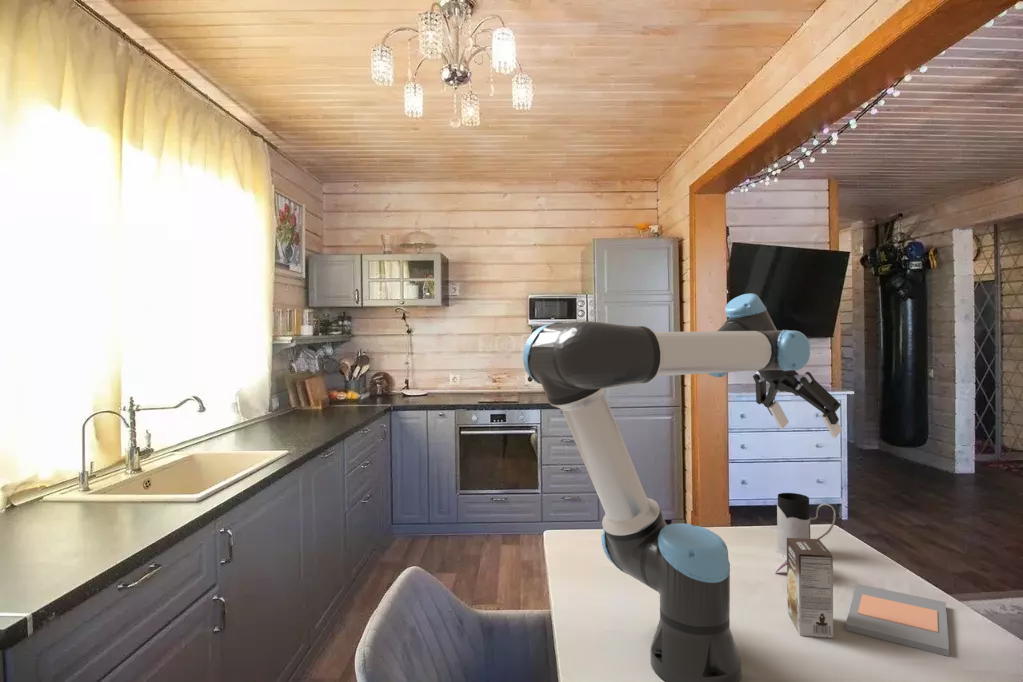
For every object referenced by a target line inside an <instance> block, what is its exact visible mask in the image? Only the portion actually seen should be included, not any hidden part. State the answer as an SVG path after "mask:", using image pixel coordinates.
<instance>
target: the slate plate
mask: <svg viewBox="0 0 1023 682" xmlns="http://www.w3.org/2000/svg"><path fill="white" fill-rule="evenodd" d="M850 603H851V604H850V607H849V611H848V614H847V619H846V622H845V631H848V632H851V633H856V634H860V635H863V636H866V637H871V638H876V639H879V640H882V641H883V640H884V641H888V642H892V643H895V644H899V645H903V646H907V647H910V648H914V649H918V650H922V651H926V652H931V653H935V654H938V655H943V656H947V657H950V644H949V633H948V632H949V630H948V614H947V602H946V601H942V600H936V599H932V598H928V597H922V596H918V595H913V594H908V593H904V592H899V591H893V590H890V589H884V588H880V587H874V586H871V585H867V584H861V583H856V585H855V589H854V593H853V596H852V600H851V602H850Z"/></svg>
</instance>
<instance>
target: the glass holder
mask: <svg viewBox="0 0 1023 682" xmlns="http://www.w3.org/2000/svg"><path fill="white" fill-rule="evenodd" d="M823 506H828V507H830V508H831V509H832V511H833V520H832V523H831V525H830V527H829V529H828V530H827V531H826V532H825V533H823V534H821V536H819V537H818V539H819V540H820V541H821V539H823V538H824V537H825V536H827V535H828V534H829V533H831V531H832V529H833V528H834V526H835V522H836V510H835V508H834V506H832V504H828V503H821V504H819V505H818V506H817V508H816V509H815V517H811V516H810V497H809V496H807V495H804V494H801V493H795V492H781V493H778V494H777V504H776V509H777V510H776V513H777V514H776V515H777V516H776V520H777V521H776V524H777V533H776V534H777V546H776V549H775V552H776V551H777V552H778V553H780V554H782V555H785V556H787V538H805V539H811V521H812V520H813V521H814V520H816V519H817V518H818V516H819V515H818V514H819V510H820V508H821V507H823ZM777 552H776V553H777ZM778 553H777V554H778Z"/></svg>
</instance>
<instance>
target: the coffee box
mask: <svg viewBox="0 0 1023 682" xmlns="http://www.w3.org/2000/svg"><path fill="white" fill-rule="evenodd" d="M786 560H787V565H786V584H787V585H786V587H787V588H786V589H787V590H786V591H787V592H786V593H787V614H788V617H789V618H790V620H791V621H792V623H793V625H794V627H795V630H796V631H797V633H798V634H799V636H801V637H802V636H803V637H814V636H815V638H816V637H817V638H826V637H828V638H830V637H831V638H830V639H834V555H833V554H832V553H831V552H830V551H829V549H828V548H827V547H826V546H825V545H824V544H823V542H822V541H821V539H820V540H819V539H817V538H810V539H805V538H787V557H786ZM828 638H827V639H828Z"/></svg>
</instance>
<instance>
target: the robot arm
mask: <svg viewBox="0 0 1023 682" xmlns="http://www.w3.org/2000/svg"><path fill="white" fill-rule="evenodd" d="M724 311H725V313H726V317H727V318H728V319H727V320H726V321H725V322H724V324H723V325H722V326H721V327H720V328H718V330H716V331H714V330H713V331H712V330H711V331H707V330H706V331H654V330H653V329H652V328H650V327H648V326H643V325H642V326H641V325H640V326H638V325H637V326H636V325H624V324H623V325H621V324H614V323H608V322H607V323H606V322H601V321H600V322H599V321H593V320H592V321H591V320H590V321H588V320H587V321H585V320H584V321H575V322H574V321H573V322H560V321H556V322H553V323H549V324H545V325H542V326H540V327H538V328H536V329H535V330H534V331H533V332H532V333H531V334H530V336H529V337H528V338H527V340H526V343H525V345H524V348H523V350H522V351H523V352H522V353H523V354H522V361H523V366H524V370H525V371H526V373H527V375H528V376H529V377H530V379H532V380H533V381H534V382H535V383H537V384H539V385H541V386H542V389H543V391H544V394H545V396H546V397H547V400H548V402H549V404H550V406H552V407H555V408H558V409H560V410H561V412H562V414H563V417H564V419H565V421H566V424H567V426H568V428H569V431H570V433H571V435H572V438H573V441H574V442H575V443H574V444H576V447H577V449H578V452H579V454H580V457H581V459H582V461H583V463H584V466H585V468H586V471H587V473H588V476H589V477H590V480H591V482H592V485H593V487H594V490H595V492H596V494H597V496H598V499H599V501H600V504H601V506H602V508H603V511H604V513H605V514H604V515H603V518H602V521H601V525H602V530H603V533H602V534H601V546H602V549H603V552H604V554H605V555H606V558H607V559H608V560H609V562H611V563H612V564H613V565H614V566H615V567H616V568H617V569H619V570H620V572H623V573H624V574H626V575H629V576H630V577H632V578H634V579H635V580H637V581H639V582H640V583H642V584H644V585H645V586H647V587H648V588H650V589H652V590H654V591H655V592H657V593H659V620H658V623H657V627H656V630H655V633H654V636H653V639H652V642H651V645H650V665H651V668H652V669H653V672H654V673H655V674H656V675H657V676H658V677H659V678H660V679H662V680H663V681H664V682H741V680H742V679H741V678H742V661H741V657H740V654H739V651H738V648H737V645H736V642H735V639H734V636H733V633H732V631H731V630H732V629H731V626H730V625H731V621H730V615H731V614H730V610H731V609H730V604H731V602H730V600H731V599H730V598H731V597H730V596H731V595H730V593H731V592H730V589H731V586H730V585H731V584H730V582H731V579H730V578H731V576H730V574H731V563H730V559H729V550H728V546H727V543H726V542H725V540H724V539H722V537H721V536H720V535H719V534H717V533H715V532H714V531H711V530H710V529H709V528H706V527H703V526H701V525H700V526H699V525H692V524H691V523H685V522H684V523H677V522H676V523H671V524H667V522H666V521H665V518H664V515H663V513H662V510H661V509H660V506H659V504H658V502H657V501H656V500H655V499H652V498H649V497H647V495H646V493H645V490H644V487H643V485H642V483H641V479H640V478H639V475H638V473H637V471H636V467H635V466H634V463H633V461H632V458H631V456H630V454H629V453H630V452H629V451H628V447H627V446H626V443H625V441H624V438H623V436H622V433H621V432H620V429H619V427H618V424H617V421H616V419H615V416H614V413H613V412H612V409H611V406H610V404H609V402H608V399H607V396H606V393H605V390H606V389H607V388H608V389H609V388H615V387H619V386H620V387H621V386H628V385H635V384H648V383H650V382H652V381H653V380H655V378H657V377H664V376H665V377H666V376H667V377H669V376H683V375H686V376H687V375H700V374H702V375H703V374H708V375H709V376H711V377H714V378H722V377H725V376H726V375H727V374H729V373H736V372H737V373H738V372H752V371H755V373H754V374H753V375H752V378H753V380H754V382H755V402H756V403H757V405H763V406H764V407H765V408H767V410H768V412H769V413H770V415H771V416H772V417H773V418H774V420H775V422H776V424H777V425H778V428H779V429H780V430H783V429H784V428H785V427H786V426H787V425H788V424H789V419H788V417H787V415H786V414H785V412H784V410H783V408H782V406H781V405H780V403H779V401H778V400H776V395H777V394H778V391H779V392H783V393H784V392H787V393H792V394H793V395H795V396H799V397H801V398H802V399H803V400H805V402H807V403H808V404H810V405H812V406H813V407H814V408H815V409H817V410H818V411H819V412H821V414H820V416H821V418H822V420H823V421H824V424H825V426H826V427H827V430H828V432H829V433H830V436H831V437H832V438H835V439H836V438H837V437H838V436H839V434H840V433H841V432H842V431H843V429H842V427H841V424H840V423H839V421H840V418H839V417H838V415H837V411H838V410H839V408H840V407H841V403H840V402H839V401H838V400H837V399H836V398H835V397H834V396H833V395H832V394H831V393H830V392H829V391H828V390H826V388H824V387H823V385H821V384H820V383H819V382H818V381H817V380H816V379H815V378H814V376H813V375H812V373H811V372H810V371H805V373H803V374H799V373H798V372H797V371H799V370H802V369H803V368H804V367H806V365H807V364H808V362H809V361H810V357H811V344H810V341H809V339H808V337H807V336H806V335H805V334H804V333H802V332H801V331H798V330H789V329H782V330H778V329H777V328H776V326H775V324H774V322H773V319H772V318H771V316H770V314H769V312H768V310H767V306H765V304H764V302H763V301H762V299H761V298H760V297H759V296H758V294H756V293H744V294H741V295H738V296H736V297H734V298H732V299H731V300H730V301H729V302H727V304H726V305H725V308H724ZM767 383H768V384H769V387H768V389H767ZM799 385H800V387H799ZM798 387H799V388H798ZM797 388H798V389H797ZM767 390H768V391H767Z"/></svg>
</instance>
